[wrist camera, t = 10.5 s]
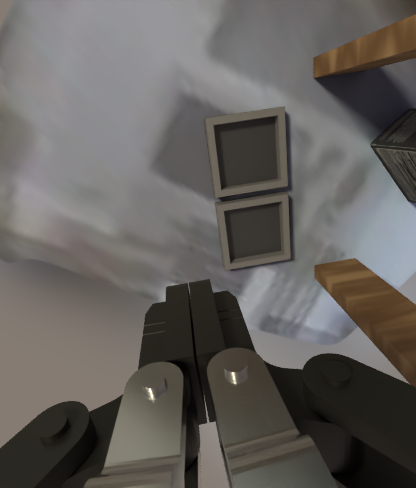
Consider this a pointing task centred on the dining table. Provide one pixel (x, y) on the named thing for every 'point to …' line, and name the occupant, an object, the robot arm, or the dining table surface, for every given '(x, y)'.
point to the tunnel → (352, 271)
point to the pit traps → (250, 185)
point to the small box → (400, 152)
